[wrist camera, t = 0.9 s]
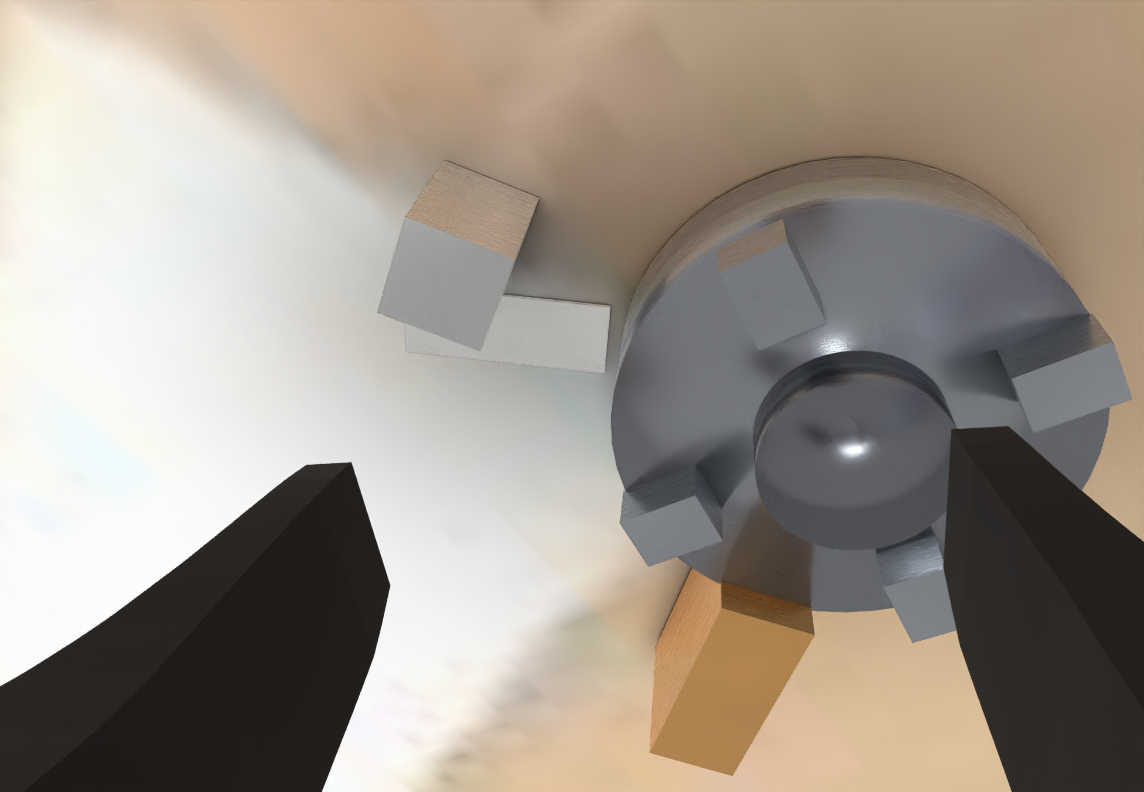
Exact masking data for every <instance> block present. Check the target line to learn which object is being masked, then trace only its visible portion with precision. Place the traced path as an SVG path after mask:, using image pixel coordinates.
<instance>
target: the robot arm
mask: <svg viewBox="0 0 1144 792" xmlns="http://www.w3.org/2000/svg"><path fill="white" fill-rule="evenodd" d="M943 569H944V574H945V578H946V583H947V588H948V593H949V598H950V603H951V607H952V612H953V617H954V621H955V625H956V630H957V634H958V639H959V643H960V647H961V650H962V653H963V656H964V658H965V661H966V664H967V667H968V670H969V673H970V676H971V679H972V681H973V684H974V687H975V690H976V693H977V696H978V698H979V701H980V704H981V707H982V710H983V713H984V715H985V718H986V721H987V724H988V726H989V729H990V732H991V735H992V738H993V740H994V743H995V746H996V749H997V752H998V754H999V757H1000V760H1001V763H1002V766H1003V768H1004V771H1005V774H1006V777H1007V779H1008V782H1009V785H1010V788H1011V791H1012V792H1144V542H1143V541H1142V540H1141V539H1140V538H1138V537H1137V536H1136V535H1134V534H1133V533H1132V532H1131V531H1129V530H1128V529H1127V528H1126V527H1125V526H1123V525H1122V524H1121V523H1120V522H1118V521H1117V520H1116V519H1115V518H1113V517H1112V516H1111V515H1110V514H1109V513H1107V512H1106V511H1105V510H1104V509H1102V508H1101V507H1100V506H1099V505H1098V504H1097V503H1095V502H1094V501H1093V500H1092V499H1091V498H1090V497H1088V496H1087V495H1086V494H1085V493H1084V492H1083V491H1081V490H1080V489H1079V488H1078V487H1077V486H1076V485H1075V484H1074V483H1072V482H1071V481H1070V480H1069V479H1068V478H1067V477H1066V476H1064V475H1063V474H1062V473H1061V472H1060V471H1059V470H1058V469H1056V468H1055V467H1054V466H1053V465H1052V464H1051V463H1050V462H1049V461H1048V460H1046V459H1045V458H1044V457H1043V456H1042V455H1041V454H1040V453H1039V452H1037V451H1036V450H1035V449H1034V448H1033V447H1032V446H1031V445H1030V444H1028V443H1027V442H1026V441H1025V440H1024V439H1023V438H1022V437H1020V436H1019V435H1018V434H1017V433H1016V432H1015V431H1014V430H1012V429H1011V428H1010V427H1009V426H998V427H980V428H962V429H951V443H950V460H949V477H948V494H947V511H946V528H945V546H944V563H943ZM389 589H390V583H389V580H388V577H387V573H386V570H385V567H384V564H383V561H382V558H381V554H380V551H379V548H378V545H377V542H376V539H375V535H374V532H373V529H372V526H371V523H370V520H369V516H368V513H367V510H366V507H365V504H364V501H363V497H362V494H361V491H360V488H359V485H358V482H357V478H356V475H355V472H354V469H353V466H352V462H349V463H331V464H313V465H306V466H304V467H303V468H301V469H300V470H298V471H297V472H295V473H294V474H293V475H291V476H290V477H288V478H287V479H286V480H285V481H283V482H282V483H281V484H279V485H278V486H277V487H275V488H274V489H273V490H272V491H270V492H269V493H268V494H267V495H265V496H264V497H263V498H262V499H261V500H259V501H258V502H257V503H256V504H254V505H253V506H252V507H251V508H249V509H248V510H247V511H246V512H245V513H243V514H242V515H241V516H240V517H238V518H237V519H236V520H235V521H234V522H232V523H231V524H230V525H229V526H227V527H226V528H225V529H224V530H222V531H221V532H220V533H219V534H218V535H216V536H215V537H214V538H213V539H211V540H210V541H209V542H208V543H206V544H205V545H204V546H203V547H201V548H200V549H199V550H198V551H197V552H195V553H194V554H193V555H192V556H190V557H189V558H188V559H187V560H185V561H184V562H183V563H182V564H180V565H179V566H178V567H176V568H175V569H174V570H172V571H171V572H170V573H168V574H167V575H166V576H164V577H163V578H162V579H160V580H159V581H158V582H156V583H155V584H154V585H152V586H151V587H150V588H148V589H147V590H146V591H144V592H143V593H142V594H140V595H139V596H138V597H136V598H135V599H134V600H132V601H131V602H129V603H128V604H127V605H125V606H124V607H123V608H121V609H120V610H119V611H117V612H116V613H115V614H113V615H112V616H110V617H109V618H108V619H106V620H105V621H103V622H102V623H100V624H99V625H98V626H96V627H95V628H93V629H92V630H90V631H89V632H87V633H86V634H84V635H83V636H81V637H80V638H78V639H77V640H75V641H74V642H72V643H71V644H69V645H67V646H66V647H64V648H63V649H61V650H60V651H58V652H56V653H55V654H53V655H52V656H50V657H48V658H47V659H45V660H44V661H42V662H41V663H39V664H37V665H36V666H34V667H33V668H31V669H29V670H28V671H26V672H24V673H23V674H21V675H19V676H18V677H16V678H14V679H12V680H11V681H9V682H7V683H5V684H3V685H2V686H0V792H322V790H323V787H324V785H325V782H326V780H327V777H328V775H329V772H330V770H331V767H332V764H333V762H334V759H335V757H336V754H337V752H338V749H339V747H340V744H341V741H342V739H343V736H344V734H345V731H346V729H347V726H348V724H349V721H350V718H351V716H352V713H353V711H354V708H355V705H356V703H357V700H358V698H359V695H360V692H361V690H362V687H363V684H364V682H365V679H366V677H367V674H368V671H369V668H370V666H371V663H372V660H373V657H374V654H375V650H376V646H377V642H378V638H379V634H380V630H381V626H382V622H383V617H384V612H385V608H386V603H387V598H388V594H389Z"/></svg>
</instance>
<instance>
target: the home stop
mask: <svg viewBox="0 0 1144 792" xmlns="http://www.w3.org/2000/svg"><path fill="white" fill-rule="evenodd" d="M538 200H539V198H538V197H536V196H533V195H531V194H528V193H526V192H523V191H521V190H518V189H516V188H513V187H511V186H508V185H506V184H503V183H501V182H498V181H496V180H493V179H490V178H488V177H485V176H483V175H480V174H478V173H475V172H473V171H470V170H468V169H465V168H463V167H460V166H458V165H455V164H453V163H450V162H448V161H445V160H444V162H443V163H442V164H441V166H440V167H439V169H438V170H437V172H436V173H435V175H434V176H433V177H432V179H431V180H430V182H429V183H428V185H427V186H426V188H425V189H424V190H423V192H422V193H421V195H420V196H419V198H418V199H417V201H416V202H415V204H414V205H413V206H412V208H411V209H410V211H409V212H408V214H407V215H406V217H405V220H404V223H403V226H402V230H401V233H400V237H399V240H398V243H397V247H396V250H395V254H394V257H393V260H392V264H391V267H390V270H389V274H388V277H387V281H386V284H385V287H384V291H383V294H382V298H381V301H380V304H379V308H378V311H377V313H379V314H382V315H385V316H387V317H390V318H393V319H395V320H398V321H401V322H403V323H405V346H406V352H412V353H421V354H430V355H439V356H448V357H457V358H467V359H476V360H485V361H494V362H503V363H512V364H522V365H531V366H540V367H549V368H558V369H567V370H577V371H586V372H595V373H605V364H606V353H607V341H608V330H609V319H610V307H611V306H609V305H600V304H590V303H581V302H571V301H562V300H552V299H542V298H533V297H523V296H514V295H504V291H505V289H506V286H507V283H508V281H509V278H510V275H511V273H512V270H513V267H514V265H515V262H516V259H517V257H518V254H519V251H520V249H521V246H522V243H523V241H524V238H525V235H526V232H527V230H528V227H529V224H530V222H531V219H532V216H533V214H534V211H535V208H536V206H537V203H538Z"/></svg>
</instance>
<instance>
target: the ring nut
mask: <svg viewBox="0 0 1144 792" xmlns="http://www.w3.org/2000/svg"><path fill="white" fill-rule="evenodd" d="M1130 399H1132V397H1131V394H1130V391H1129V388H1128V385H1127V382H1126V379H1125V376H1124V373H1123V370H1122V367H1121V364H1120V361H1119V359H1118V356H1117V353H1116V350H1115V347H1114V344H1113V341H1112V340H1111V339H1110V337H1109V336H1108V334H1107V333H1106V332H1105V330H1104V329H1103V327H1102V326H1101V325H1100V323H1099V322H1098V320H1097V319H1096V318H1095V316H1094V315H1093V314H1089V313H1088V311H1087V310H1086V308H1085V307H1084V306H1083V304H1082V303H1081V301H1080V300H1079V298H1078V297H1077V295H1076V294H1075V292H1074V291H1073V289H1072V288H1071V286H1070V285H1069V284H1068V282H1067V281H1066V279H1065V278H1064V277H1063V275H1062V274H1061V272H1060V271H1059V270H1058V268H1057V267H1056V266H1055V264H1054V263H1053V261H1052V260H1051V259H1050V257H1049V256H1048V254H1047V253H1046V252H1045V250H1044V249H1043V247H1042V246H1041V245H1040V243H1039V242H1038V240H1037V239H1036V238H1035V236H1034V235H1033V233H1032V232H1031V231H1030V230H1029V229H1028V228H1027V227H1026V226H1025V225H1024V224H1023V223H1022V222H1021V221H1020V219H1019V218H1018V217H1017V216H1016V215H1015V214H1014V213H1013V212H1012V211H1011V210H1009V209H1008V208H1007V207H1005V206H1004V205H1003V204H1002V203H1000V202H999V201H998V200H996V199H995V198H994V197H993V196H991V195H990V194H988V193H987V192H985V191H983V190H981V189H979V188H978V187H976V186H974V185H972V184H971V183H969V182H967V181H965V180H963V179H961V178H958V177H956V176H953V175H951V174H948V173H946V172H943V171H940V170H938V169H935V168H932V167H927V166H923V165H919V164H915V163H911V162H907V161H901V160H892V159H882V158H873V157H864V158H835V159H828V160H821V161H815V162H808V163H803V164H800V165H796V166H792V167H788V168H785V169H781V170H777V171H774V172H772V173H769V174H767V175H764V176H762V177H759V178H757V179H754V180H752V181H749V182H747V183H745V184H743V185H741V186H739V187H737V188H736V189H734V190H732V191H730V192H728V193H727V194H725V195H723V196H721V197H719V198H718V199H716V200H715V201H714V202H712V203H711V204H710V205H708V206H707V207H705V208H704V209H703V210H701V211H700V212H699V213H697V214H696V215H694V216H693V217H692V218H691V219H690V220H689V221H688V222H687V223H686V224H685V225H684V226H683V227H682V228H680V229H679V230H678V231H677V232H676V233H675V234H674V235H673V236H672V237H671V238H670V240H669V241H668V242H667V243H666V245H665V246H664V247H663V248H662V249H661V251H660V252H659V253H658V254H657V256H656V257H655V258H654V260H653V261H652V263H651V265H650V266H649V268H648V270H647V271H646V273H645V274H644V276H643V278H642V279H641V281H640V283H639V285H638V288H637V290H636V292H635V295H634V297H633V299H632V302H631V304H630V307H629V311H628V314H627V318H626V322H625V326H624V329H623V335H622V342H621V348H620V355H619V362H618V368H617V375H616V381H615V388H614V395H613V404H612V413H611V430H612V445H613V450H614V455H615V460H616V465H617V469H618V472H619V475H620V477H621V480H622V483H623V485H624V488H625V491H624V492H623V500H622V509H621V517H620V524H621V526H622V527H623V529H624V530H625V532H626V533H627V535H628V536H629V538H630V539H631V541H632V542H633V544H634V545H635V547H636V548H637V550H638V551H639V553H640V555H641V556H642V558H643V559H644V561H645V562H646V564H647V565H648V567H649V566H652V565H655V564H658V563H661V562H664V561H666V560H669V559H672V558H675V557H678V558H680V559H681V560H682V561H683V562H685V563H686V564H687V565H688V566H690V567H691V568H692V569H691V571H690V573H689V576H688V578H687V580H686V582H685V584H684V586H683V589H682V591H681V593H680V595H679V597H678V599H677V602H676V604H675V606H674V608H673V610H672V613H671V615H670V617H669V619H668V621H667V623H666V626H665V628H664V630H663V632H662V634H661V636H660V639H659V641H658V643H657V645H656V652H655V669H654V686H653V703H652V719H651V736H650V753H652V754H656V755H660V756H663V757H667V758H670V759H674V760H677V761H681V762H685V763H688V764H692V765H695V766H699V767H702V768H706V769H710V770H713V771H717V772H720V773H724V774H727V775H731V776H733V774H734V773H735V771H736V769H737V767H738V766H739V764H740V762H741V761H742V759H743V757H744V755H745V754H746V752H747V750H748V748H749V747H750V745H751V743H752V742H753V740H754V738H755V736H756V735H757V733H758V731H759V730H760V728H761V726H762V724H763V723H764V721H765V719H766V718H767V716H768V714H769V712H770V711H771V709H772V707H773V706H774V704H775V702H776V700H777V699H778V697H779V695H780V694H781V692H782V690H783V688H784V687H785V685H786V683H787V681H788V680H789V678H790V676H791V675H792V673H793V671H794V669H795V668H796V666H797V664H798V663H799V661H800V659H801V657H802V656H803V654H804V652H805V651H806V649H807V647H808V645H809V644H810V642H811V640H812V639H813V637H814V635H815V634H814V626H813V618H812V610H813V611H830V612H857V611H874V610H881V609H888V608H895V610H896V612H897V614H898V616H899V618H900V620H901V622H902V624H903V626H904V627H905V629H906V631H907V633H908V635H909V637H910V639H911V641H912V643H914V642H917V641H921V640H924V639H928V638H931V637H935V636H938V635H942V634H945V633H949V632H952V631H956V625H955V621H954V617H953V612H952V607H951V603H950V598H949V593H948V588H947V583H946V578H945V574H944V569H943V563H944V546H945V528H946V511H947V494H948V477H949V460H950V443H951V429H962V428H980V427H998V426H1009V427H1010V428H1011V429H1012V430H1014V431H1015V432H1016V433H1017V434H1018V435H1019V436H1020V437H1022V438H1023V439H1024V440H1025V441H1026V442H1027V443H1028V444H1030V445H1031V446H1032V447H1033V448H1034V449H1035V450H1036V451H1037V452H1039V453H1040V454H1041V455H1042V456H1043V457H1044V458H1045V459H1046V460H1048V461H1049V462H1050V463H1051V464H1052V465H1053V466H1054V467H1055V468H1056V469H1058V470H1059V471H1060V472H1061V473H1062V474H1063V475H1064V476H1066V477H1067V478H1068V479H1069V480H1070V481H1071V482H1072V483H1074V484H1075V485H1076V486H1077V487H1078V488H1079V489H1080V490H1082V489H1083V487H1084V486H1085V484H1086V482H1087V481H1088V479H1089V477H1090V475H1091V473H1092V471H1093V468H1094V466H1095V464H1096V461H1097V459H1098V457H1099V455H1100V452H1101V449H1102V445H1103V441H1104V438H1105V434H1106V430H1107V426H1108V419H1109V409H1110V406H1113V405H1116V404H1119V403H1122V402H1125V401H1127V400H1130Z"/></svg>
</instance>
